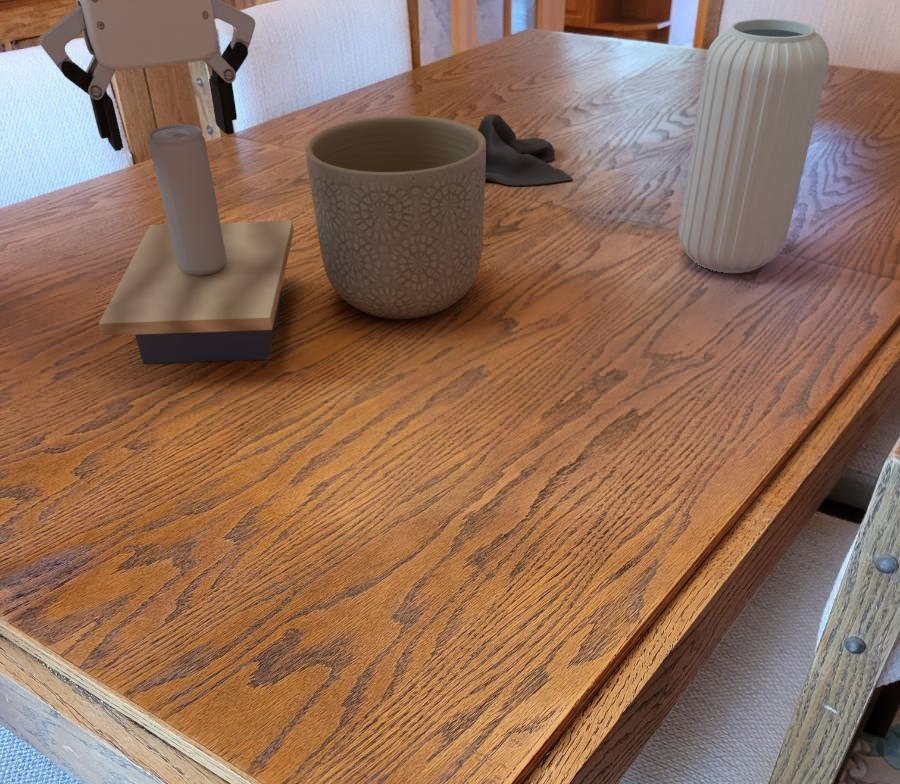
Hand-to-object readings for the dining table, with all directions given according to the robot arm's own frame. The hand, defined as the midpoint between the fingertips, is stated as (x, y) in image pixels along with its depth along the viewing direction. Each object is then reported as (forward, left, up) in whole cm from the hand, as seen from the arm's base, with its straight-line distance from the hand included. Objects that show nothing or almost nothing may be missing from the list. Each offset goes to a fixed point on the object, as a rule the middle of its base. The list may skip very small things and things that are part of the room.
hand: (171, 137), depth 79 cm
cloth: (+32, +45, -18) cm, 58 cm away
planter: (+19, +5, -18) cm, 27 cm away
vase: (+55, +12, -18) cm, 59 cm away
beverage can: (0, 0, -12) cm, 12 cm away
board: (0, 0, -13) cm, 13 cm away
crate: (0, 0, -18) cm, 18 cm away
